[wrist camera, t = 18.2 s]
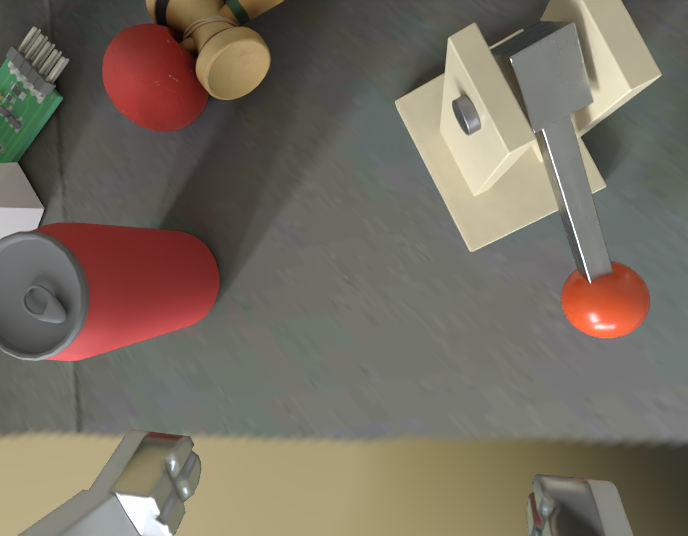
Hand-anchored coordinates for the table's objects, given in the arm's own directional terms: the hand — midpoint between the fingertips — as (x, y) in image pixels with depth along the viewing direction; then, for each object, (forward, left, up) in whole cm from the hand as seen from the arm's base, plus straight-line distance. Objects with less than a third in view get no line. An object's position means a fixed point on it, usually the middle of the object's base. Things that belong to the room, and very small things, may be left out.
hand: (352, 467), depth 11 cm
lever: (-10, -4, -11) cm, 16 cm away
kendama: (0, -22, -18) cm, 28 cm away
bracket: (-10, -8, -18) cm, 22 cm away
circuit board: (+18, -26, -18) cm, 37 cm away
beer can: (+12, -10, -18) cm, 24 cm away
